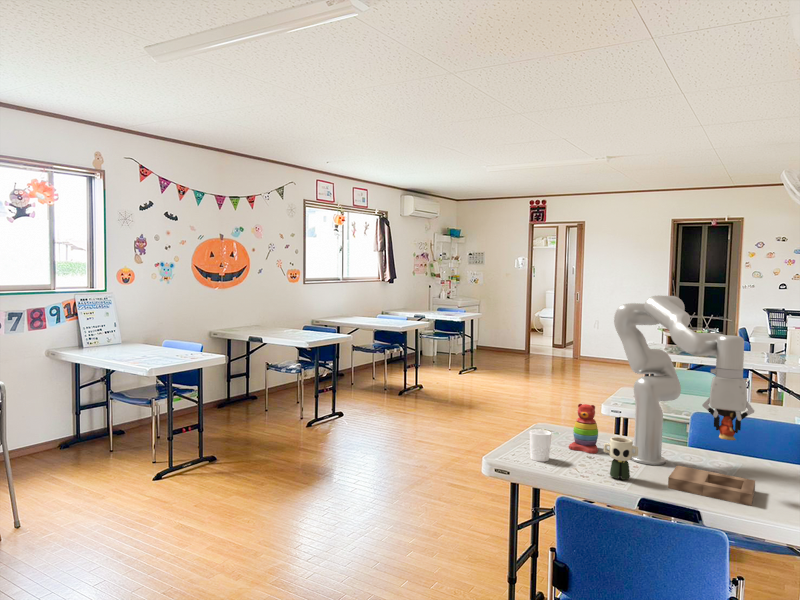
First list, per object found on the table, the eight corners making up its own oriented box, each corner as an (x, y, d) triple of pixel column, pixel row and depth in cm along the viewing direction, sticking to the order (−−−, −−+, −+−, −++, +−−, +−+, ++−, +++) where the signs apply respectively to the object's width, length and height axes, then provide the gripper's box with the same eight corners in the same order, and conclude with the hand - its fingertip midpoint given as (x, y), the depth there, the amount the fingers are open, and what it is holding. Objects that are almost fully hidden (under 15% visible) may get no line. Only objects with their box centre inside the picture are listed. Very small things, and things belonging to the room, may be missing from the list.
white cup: (526, 460, 208) (528, 433, 208) (530, 454, 215) (531, 428, 215) (549, 463, 205) (550, 436, 205) (551, 457, 212) (552, 431, 212)
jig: (667, 488, 183) (668, 477, 183) (676, 475, 196) (677, 465, 196) (751, 506, 170) (752, 494, 170) (754, 491, 183) (755, 480, 183)
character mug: (602, 478, 190) (604, 440, 190) (602, 472, 197) (603, 435, 197) (637, 483, 187) (639, 444, 186) (636, 476, 194) (637, 438, 193)
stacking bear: (567, 449, 224) (568, 404, 224) (575, 443, 233) (577, 400, 232) (594, 454, 218) (596, 408, 218) (602, 448, 227) (604, 404, 226)
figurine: (729, 442, 178) (731, 403, 178) (712, 437, 183) (714, 400, 183) (741, 440, 181) (743, 402, 181) (724, 435, 186) (726, 399, 186)
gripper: (698, 372, 183) (695, 428, 184) (760, 378, 174) (757, 437, 174) (700, 370, 189) (698, 424, 190) (760, 375, 180) (758, 433, 180)
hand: (727, 430), depth 182 cm, fingers closed on figurine, 4 cm apart
